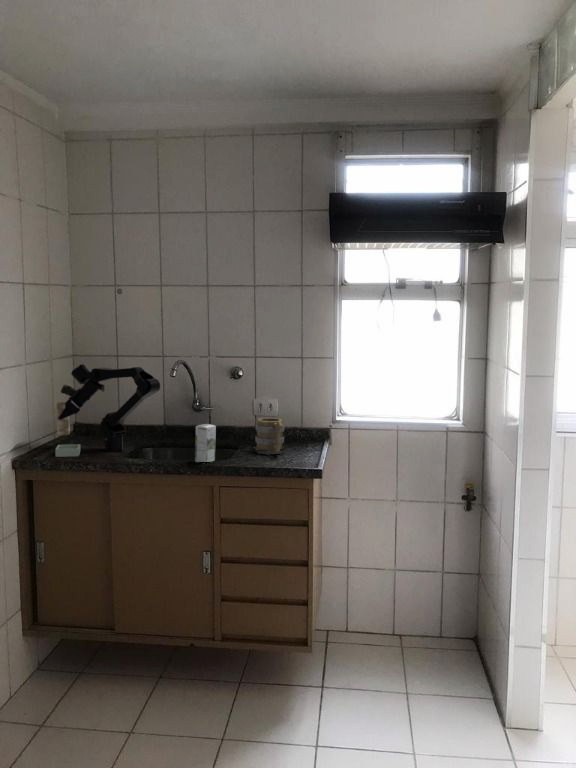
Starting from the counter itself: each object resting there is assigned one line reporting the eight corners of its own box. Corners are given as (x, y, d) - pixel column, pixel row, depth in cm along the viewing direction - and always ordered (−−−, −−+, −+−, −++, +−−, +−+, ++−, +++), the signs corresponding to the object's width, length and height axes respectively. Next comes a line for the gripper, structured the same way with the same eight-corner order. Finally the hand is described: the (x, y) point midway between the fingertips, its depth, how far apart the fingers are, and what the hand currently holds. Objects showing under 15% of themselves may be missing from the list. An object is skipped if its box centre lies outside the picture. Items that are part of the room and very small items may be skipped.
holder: (80, 451, 269) (80, 444, 268) (78, 456, 260) (78, 448, 260) (58, 452, 267) (58, 444, 266) (55, 456, 258) (55, 449, 258)
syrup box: (203, 459, 260) (204, 423, 258) (215, 461, 257) (216, 425, 255) (194, 462, 255) (194, 425, 254) (206, 464, 252) (207, 427, 251)
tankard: (251, 449, 281) (251, 415, 279) (279, 448, 285) (279, 414, 283) (264, 459, 262) (264, 422, 260) (293, 458, 266) (294, 422, 264)
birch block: (69, 432, 276) (69, 402, 275) (68, 434, 272) (68, 403, 270) (58, 432, 275) (57, 402, 274) (57, 434, 271) (56, 403, 269)
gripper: (74, 376, 281) (47, 401, 280) (70, 380, 263) (41, 408, 262) (93, 394, 284) (67, 419, 282) (91, 399, 266) (62, 427, 264)
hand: (59, 418), depth 273 cm, fingers closed on birch block, 4 cm apart
